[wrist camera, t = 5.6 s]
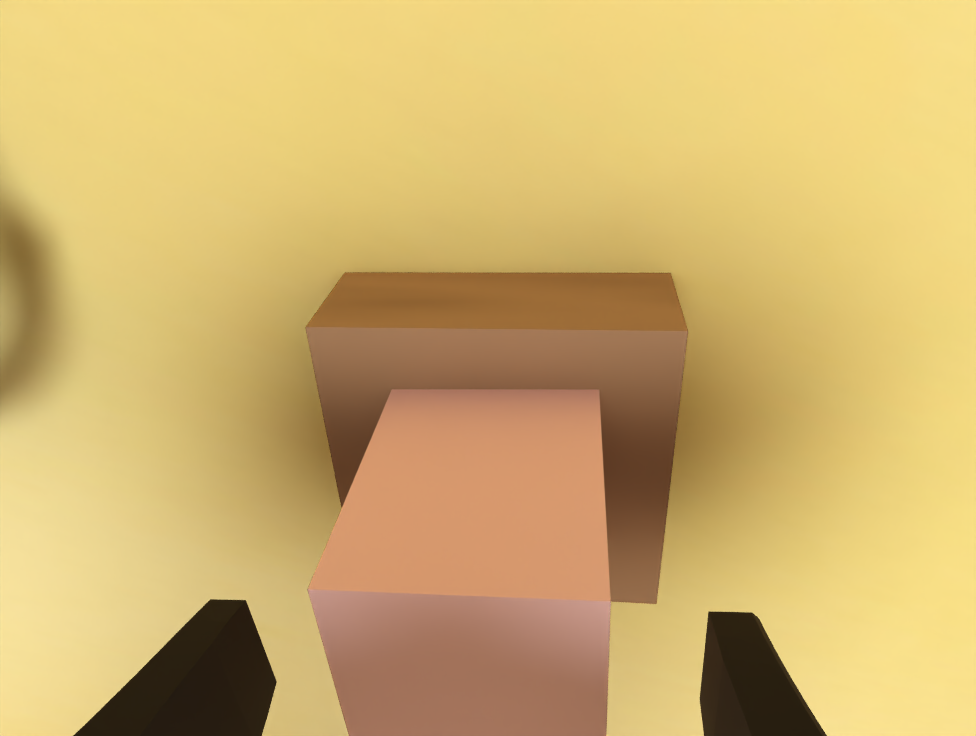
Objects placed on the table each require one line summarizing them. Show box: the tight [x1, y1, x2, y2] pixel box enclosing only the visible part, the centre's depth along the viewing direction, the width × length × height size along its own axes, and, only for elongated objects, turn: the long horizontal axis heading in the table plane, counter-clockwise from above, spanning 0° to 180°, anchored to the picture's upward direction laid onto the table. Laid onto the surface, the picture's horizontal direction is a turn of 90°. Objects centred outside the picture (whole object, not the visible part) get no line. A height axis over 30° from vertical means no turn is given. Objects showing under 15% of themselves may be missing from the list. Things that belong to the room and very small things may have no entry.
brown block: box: [306, 273, 688, 604], centre depth 16 cm, size 7×7×3 cm
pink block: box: [308, 389, 611, 736], centre depth 12 cm, size 4×4×5 cm
